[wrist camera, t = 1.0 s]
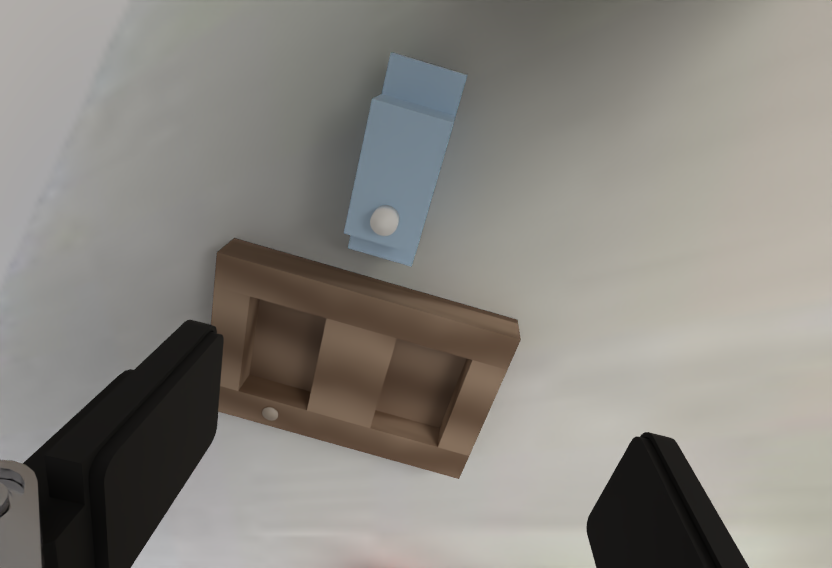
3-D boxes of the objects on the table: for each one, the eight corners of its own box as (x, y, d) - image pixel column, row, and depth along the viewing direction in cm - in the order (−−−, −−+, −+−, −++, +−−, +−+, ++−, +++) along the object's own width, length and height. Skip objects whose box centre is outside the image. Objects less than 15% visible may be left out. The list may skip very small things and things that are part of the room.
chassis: (234, 238, 33) (216, 252, 30) (517, 319, 33) (520, 340, 31) (219, 386, 38) (203, 408, 36) (459, 454, 39) (458, 479, 37)
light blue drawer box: (398, 51, 27) (378, 53, 21) (467, 72, 27) (466, 79, 21) (357, 231, 32) (333, 271, 26) (416, 248, 32) (404, 292, 26)
